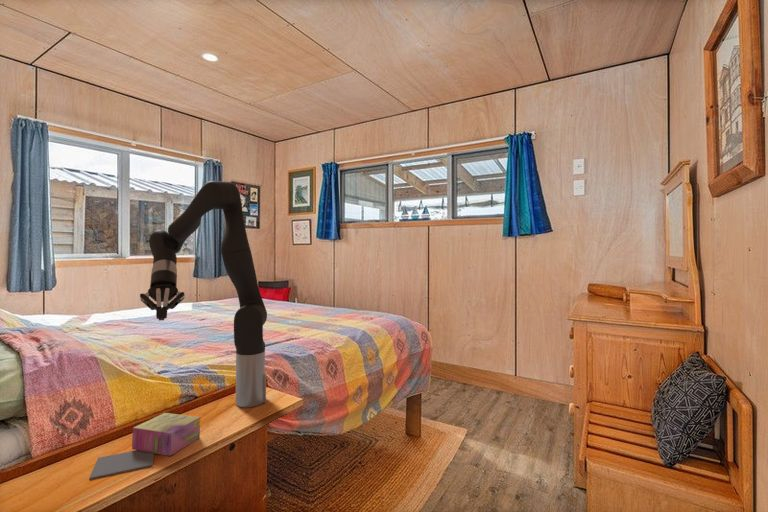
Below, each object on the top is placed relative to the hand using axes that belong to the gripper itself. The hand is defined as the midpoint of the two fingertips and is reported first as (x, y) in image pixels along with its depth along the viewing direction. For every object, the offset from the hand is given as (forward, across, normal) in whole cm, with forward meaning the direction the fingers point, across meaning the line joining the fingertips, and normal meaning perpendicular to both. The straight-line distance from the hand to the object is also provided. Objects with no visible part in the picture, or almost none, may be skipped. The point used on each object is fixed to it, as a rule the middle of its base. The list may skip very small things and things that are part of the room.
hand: (161, 318), depth 115 cm
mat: (+39, -6, +3) cm, 40 cm away
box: (+31, -2, +7) cm, 32 cm away
